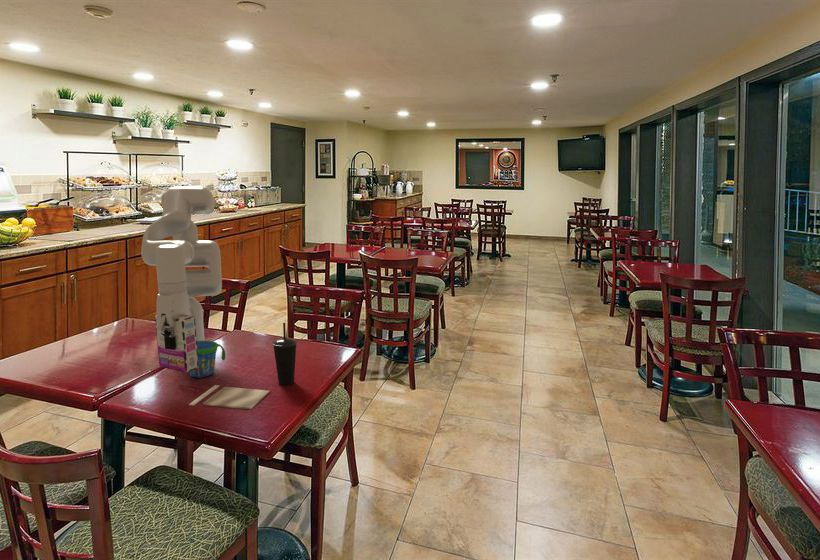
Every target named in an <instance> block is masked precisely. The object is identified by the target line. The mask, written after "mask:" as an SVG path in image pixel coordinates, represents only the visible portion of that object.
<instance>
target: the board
mask: <svg viewBox="0 0 820 560" xmlns="http://www.w3.org/2000/svg"><path fill="white" fill-rule="evenodd" d="M270 393H271V390H264V389H254V388H252V389H251V388H245V387H242V388H241V387H232V386H231V387H230V386H223V387H221V388H220V389H219V390H218V391H217V392H215V393H214V394H212V396H210V397H209V398H207V399H206V400H204V401H203V402H202V406H212V407H223V408H232V409H241V410H253V409H254V408H255V407H256V406H257V405H258V404H259V403H260V402H261V401H262V400H263V399H264V398H265V397H267V396H268V394H270Z"/></svg>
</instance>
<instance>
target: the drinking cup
mask: <svg viewBox="0 0 820 560" xmlns="http://www.w3.org/2000/svg"><path fill="white" fill-rule="evenodd" d="M282 326H283V327H282V328H283V329H282V330H283V333H282V334H283V337H282V338H278V339H276V340H274V341H273V342H272V346H273V353H274V359H275V365H276V366H275V367H276V373H277V380H278V385H279V386H283V387H284V386H291V385H293V384H294V382H295V375H296V374H295V373H296V371H295V370H296V357H297V355H296V353H297V345H298V341H297V340H296V339H294V338H290V337H287V335H286V334H287V333H286V322H283V324H282Z"/></svg>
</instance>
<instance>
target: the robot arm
mask: <svg viewBox="0 0 820 560" xmlns="http://www.w3.org/2000/svg"><path fill="white" fill-rule="evenodd" d="M160 200H161V206H162V215H161V217H160V218H158V219H156V220H155V221H153V222H152V223H151V224H150V225H149V226H148V227H146V229H145V231H144V232H143V236H142V243H141V251H140V253H141V259H142V260H143V262H144V263H145V264H146V265H148V266H154V267H155V268H156V276H157V277H156V278H157V288H158V294H157V297H156V314H155V315H157V325H158V328H157V330H158V331H159V332H160V333H161V334H162V336H163V337H164V342H165V349H169V350H175V349H176V341H175V336H173V335H174V327H175V326H176V319H177V318H179V317H181V316H183V315H190V316H195V327H196V341H206V339H205V326H204V310H203V306H202V304H201V303H200V301H198V299H196V298H195V297H210V296H212V297H213V296H217V295H219V294H221V292H222V288H223V277H222V274H223V273H222V258H221V250H220V249H221V248H220V246H219V244H218V242H217V241H215V240H207V239H206V240H205V239H204V240H203V239H201V240H199V234H198V233H199V232H198V231H199V230H198V226H197V225H196V223H195V222H194V221H193V220H192V215H211V214H212V213H213V212H214V209H215V197H214V195H213V193H212V191H210V189H208V188H207V187H204V186H172V187H170V188H168V189H167V191H165V192H163V193H162V195H161V199H160ZM169 237H170V238H172V239H167V238H169ZM166 239H167V240H166ZM193 267H196V268H197V267H205V268H207V269H186V268H193ZM168 324H169V326H167V325H168ZM167 328H170V332H169V331H168V330H167Z"/></svg>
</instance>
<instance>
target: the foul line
mask: <svg viewBox="0 0 820 560" xmlns="http://www.w3.org/2000/svg"><path fill="white" fill-rule="evenodd" d="M219 387H220V385H219V384H218V385H217V384H214V385H213V386H212V387H211V388H209V389H208V390H206V391H205V392H203V393H202V394H201V395H200V396H198V397H197V398H195V399H194V400H192V401H191V402H190V403H188V406H195V405H197V404H198V403H199V402H200V401H202V400H204V399H205V398H206V397H208V395H210V394H211V393H213V392H214V391H215V390H217V389H218V388H219Z"/></svg>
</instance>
